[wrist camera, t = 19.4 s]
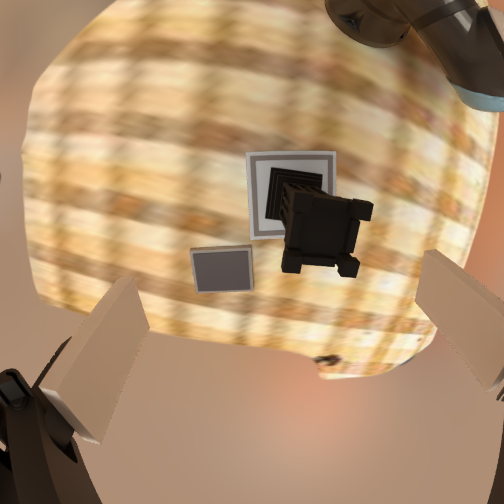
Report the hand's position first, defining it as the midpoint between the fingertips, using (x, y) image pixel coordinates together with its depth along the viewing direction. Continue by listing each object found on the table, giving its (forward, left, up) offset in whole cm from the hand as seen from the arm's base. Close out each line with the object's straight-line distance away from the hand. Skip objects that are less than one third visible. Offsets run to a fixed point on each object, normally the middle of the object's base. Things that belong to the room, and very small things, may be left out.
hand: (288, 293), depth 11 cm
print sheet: (+2, +5, -32) cm, 33 cm away
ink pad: (+14, -7, -32) cm, 36 cm away
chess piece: (+2, +5, -32) cm, 33 cm away
